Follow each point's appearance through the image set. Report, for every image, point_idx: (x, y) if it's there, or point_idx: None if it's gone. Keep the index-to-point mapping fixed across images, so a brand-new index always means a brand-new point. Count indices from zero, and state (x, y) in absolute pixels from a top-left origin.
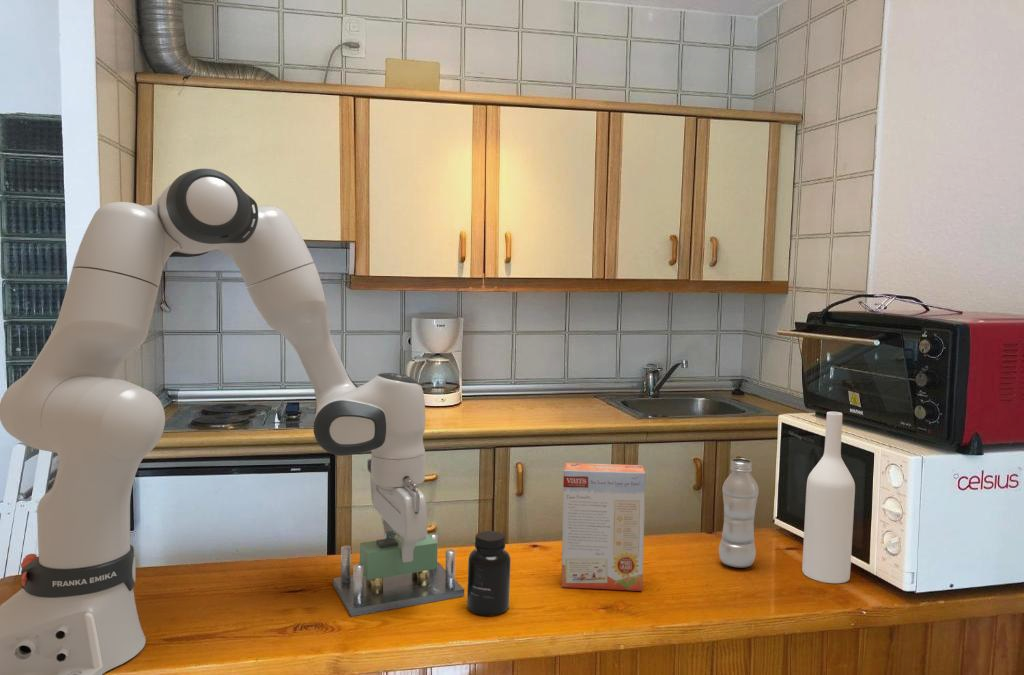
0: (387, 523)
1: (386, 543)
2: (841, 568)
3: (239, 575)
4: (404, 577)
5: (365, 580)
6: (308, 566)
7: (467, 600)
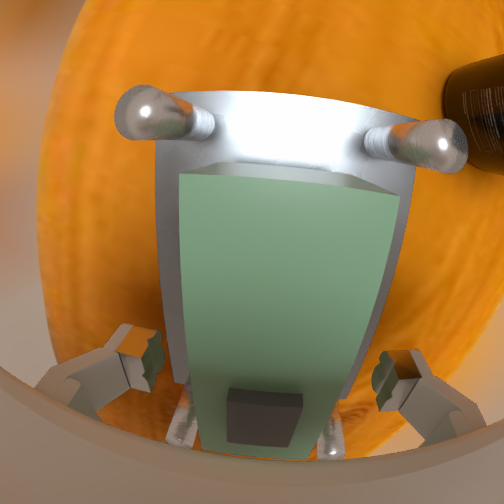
0: (93, 394)
1: (286, 435)
2: None
3: (113, 424)
4: None
5: None
6: None
7: (482, 167)
